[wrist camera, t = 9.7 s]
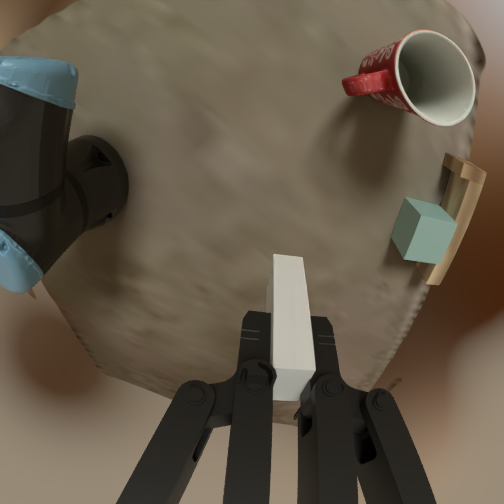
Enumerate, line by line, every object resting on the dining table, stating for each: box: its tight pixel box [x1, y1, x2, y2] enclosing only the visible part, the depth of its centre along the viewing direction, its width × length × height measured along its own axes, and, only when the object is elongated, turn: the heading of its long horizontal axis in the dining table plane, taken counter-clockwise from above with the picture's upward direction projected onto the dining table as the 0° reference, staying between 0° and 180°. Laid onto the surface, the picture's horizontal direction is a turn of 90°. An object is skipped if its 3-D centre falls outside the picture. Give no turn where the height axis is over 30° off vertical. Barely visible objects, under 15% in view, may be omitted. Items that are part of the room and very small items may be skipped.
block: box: [391, 197, 458, 264], centre depth 35 cm, size 7×7×6 cm
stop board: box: [416, 153, 487, 285], centre depth 34 cm, size 5×20×5 cm, turn 175°
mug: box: [342, 30, 475, 127], centre depth 21 cm, size 13×9×14 cm
